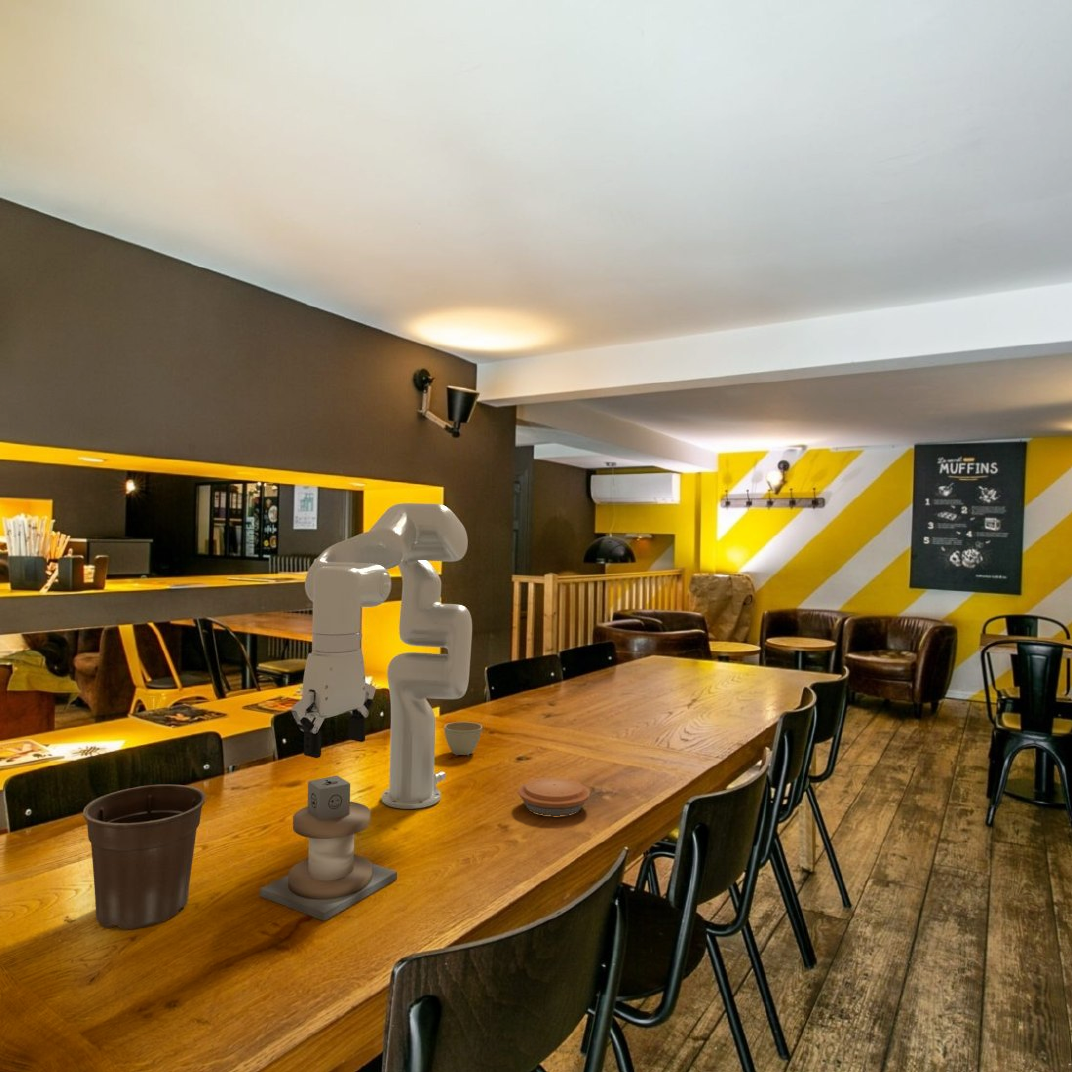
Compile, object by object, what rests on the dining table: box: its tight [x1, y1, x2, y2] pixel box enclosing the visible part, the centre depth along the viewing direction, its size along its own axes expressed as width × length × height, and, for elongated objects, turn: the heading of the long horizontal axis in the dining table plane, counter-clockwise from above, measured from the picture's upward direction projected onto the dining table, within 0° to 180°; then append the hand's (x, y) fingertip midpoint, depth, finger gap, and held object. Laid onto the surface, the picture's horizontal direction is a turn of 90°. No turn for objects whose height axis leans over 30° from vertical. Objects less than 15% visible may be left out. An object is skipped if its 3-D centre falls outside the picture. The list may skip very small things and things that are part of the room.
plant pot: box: [82, 784, 207, 930], centre depth 109 cm, size 16×16×16 cm
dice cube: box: [307, 774, 351, 821], centre depth 118 cm, size 5×5×5 cm
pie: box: [517, 776, 591, 816], centre depth 155 cm, size 15×16×5 cm
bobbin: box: [259, 801, 398, 922], centre depth 117 cm, size 16×14×12 cm
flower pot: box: [443, 721, 483, 756], centre depth 193 cm, size 10×10×7 cm
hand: (335, 748), depth 118 cm, fingers open, 9 cm apart
